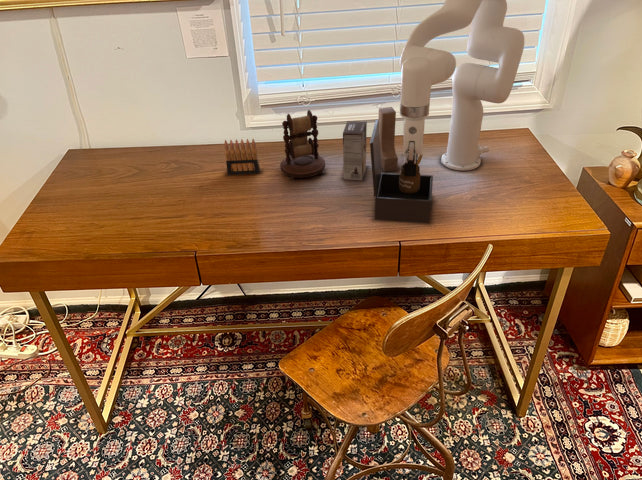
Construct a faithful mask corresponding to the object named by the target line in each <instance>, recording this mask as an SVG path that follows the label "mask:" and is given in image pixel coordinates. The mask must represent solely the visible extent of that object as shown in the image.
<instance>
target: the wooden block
mask: <svg viewBox="0 0 642 480" xmlns="http://www.w3.org/2000/svg"><path fill="white" fill-rule="evenodd" d="M396 117H397V112H396V110H395V108H393V107H392V106H387V107H380V108H378V119H377V120H379V137H380V153H381V169H382V170H383V172H391V171H397V170H398V165H399V164H398V163H399V157H398V155H397V152H396V147H395V138H396V119H397V118H396Z"/></svg>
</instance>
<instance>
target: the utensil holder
mask: <svg viewBox="0 0 642 480" xmlns="http://www.w3.org/2000/svg"><path fill="white" fill-rule="evenodd" d="M423 154H424V153H422V154H421V155H420V154H419V155H418V158H417V169H416V176H405V175H404V170H405V163H404V161H405V160H404V157H406V154H405V153H404V151H403V153H402V160H401V161H402V162H401V163H403V164H402V165H401V167H400V172H399V174H400V175H399V189H400V190H401V191H402V192H404V193H408V194H411V193H415V192H417V191H418V190H419V188H420V175H421V173H420V172H421V168H420V163H421V161H422V158H423Z"/></svg>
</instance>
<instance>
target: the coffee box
mask: <svg viewBox="0 0 642 480" xmlns="http://www.w3.org/2000/svg"><path fill="white" fill-rule="evenodd" d="M367 125H368V122H367V121H358V120H353V121H352V120H347V121H346V123H345V126H344V129H343V132H342V172H343V174H342V176H343V180H350V181H363V179H364V175H365V172H366V168H367V130H368V129H367V127H368V126H367Z"/></svg>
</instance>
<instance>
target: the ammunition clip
mask: <svg viewBox="0 0 642 480" xmlns="http://www.w3.org/2000/svg"><path fill="white" fill-rule="evenodd" d="M250 143H251V144H250ZM234 144H235V146H234ZM224 156H225V162H226V163H225V165H226V174H227V175H228V176H234V175H255V174H256V175H258V174H261V167H260V162H259V155H258V149H257V145H256V141H255V139H254V138H252V139H251V142H250V140H249V139H248V138H247V139H246V141H244V140H243V139H242V138H241V140H240V143H239V141H238V139H235V142H234V143H233V140H232V139H230V140H229V144H228V141H227V139H224Z"/></svg>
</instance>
